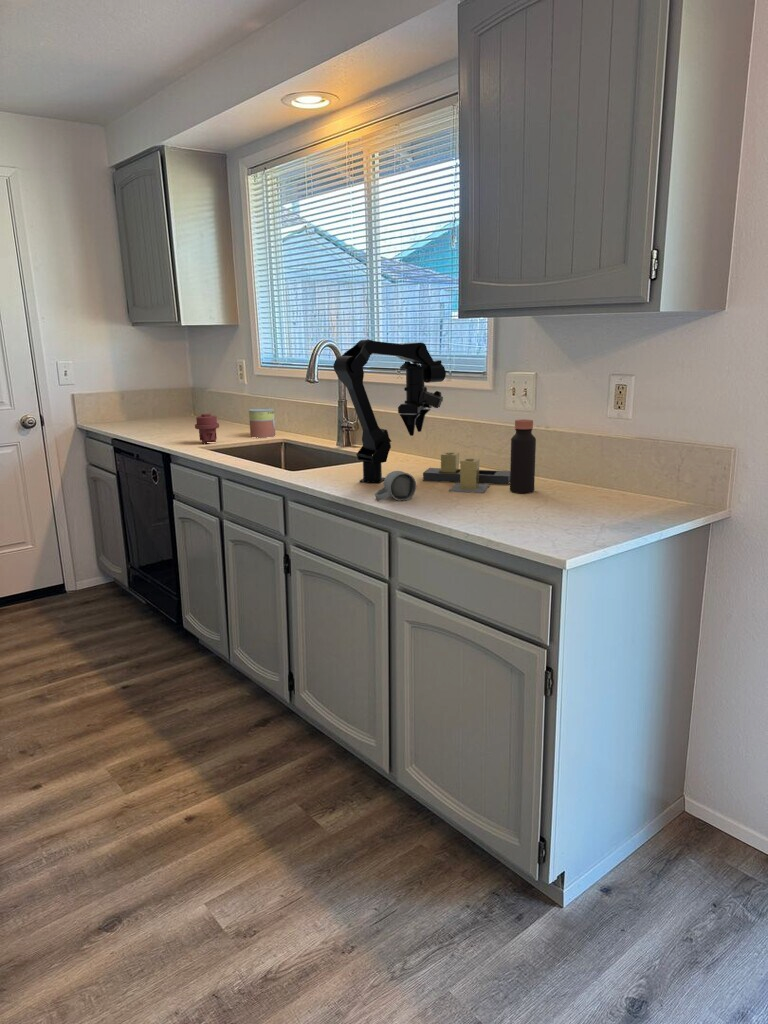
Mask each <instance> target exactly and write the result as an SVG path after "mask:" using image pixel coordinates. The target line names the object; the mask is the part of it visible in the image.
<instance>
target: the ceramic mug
mask: <svg viewBox="0 0 768 1024" xmlns="http://www.w3.org/2000/svg"><path fill="white" fill-rule="evenodd" d="M384 478H385V480H383V487H382V488H381V489H378V490H377V491H376V492H375V493H374V496H375V500H377V499H378V500H377V501H383V500H385V499H388V498H389V497H391V498H393V499H394V500H396V501H399V502H402V501H401V500H406V501H409V500H410V499H412V497H413V496H414V495H415V493H416V490H417V482H416V480H415V478H414V476H413V475H411V474H410V473H408V472H404V471H400V470H393V471H391V472H389V473H388V474H387V475H386V476H385V477H384Z"/></svg>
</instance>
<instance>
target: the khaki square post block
mask: <svg viewBox="0 0 768 1024" xmlns="http://www.w3.org/2000/svg"><path fill="white" fill-rule="evenodd" d="M440 468H441V473H459V469H460V452H453V451H452V452H450V451H447V452H446V451H444V452H443V453H441V454H440Z"/></svg>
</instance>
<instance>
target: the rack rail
mask: <svg viewBox="0 0 768 1024" xmlns="http://www.w3.org/2000/svg"><path fill="white" fill-rule="evenodd" d="M425 480H426V481H425ZM422 481H424V482H441V481H449V482H448V483H460V468H459V473H441V467H439V468H438V467H429V468H427V469H426V470H424V471H423V472H422ZM509 482H510V470H494V469H493V470H492V469H479V484H485V483H494V484H493V485H507V484H508V483H509ZM509 484H510V483H509ZM509 484H508V485H509Z"/></svg>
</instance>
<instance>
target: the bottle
mask: <svg viewBox="0 0 768 1024" xmlns="http://www.w3.org/2000/svg"><path fill="white" fill-rule="evenodd" d="M533 428H534V420H533V419H516V420H514V430H515V434H513V436H512V437H511V438H510V465H509V466H510V467H509V468H510V469H509V471H510V483H509V491H510V492H511V491H512V493H514V492H518V493H517V494H529V493H528V492H531V493H533V492H534V491H535V482H536V481H535V480H536V479H535V477H536V449H537V447H536V446H537V439H536V437H535V436H534V435H533V433H532V431H533Z"/></svg>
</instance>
